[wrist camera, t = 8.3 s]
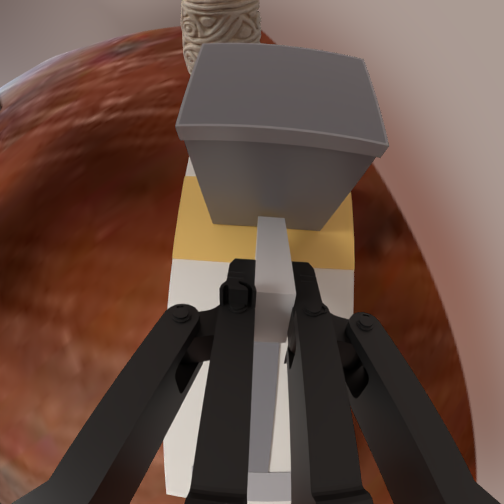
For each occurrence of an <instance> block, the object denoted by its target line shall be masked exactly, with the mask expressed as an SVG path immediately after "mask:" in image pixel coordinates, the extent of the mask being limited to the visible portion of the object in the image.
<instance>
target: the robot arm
mask: <svg viewBox="0 0 504 504" xmlns="http://www.w3.org/2000/svg"><path fill="white" fill-rule="evenodd" d="M219 298H220V305H218V306H217V307H215V308H213V309H211V310H206V311H200V312H198V310H197V309H196V308H195V307H194V306H191V305H189V304H176V305H174V306H171V307H170V308H168V309H167V310H166V311H165V313H164V314H163V315H162V317H161V318H160V319H159V321H158V322H157V323H156V325H155V326H154V327H153V329H152V330H151V331H150V333H149V334H148V335H147V337H146V338H145V339H144V341H143V342H142V344H141V345H140V346H139V348H138V349H137V350H136V352H135V353H134V355H133V356H132V357H131V359H130V360H129V361H128V363H127V364H126V366H125V367H124V368H123V370H122V371H121V373H120V374H119V375H118V377H117V378H116V380H115V381H114V383H113V384H112V385H111V387H110V388H109V390H108V391H107V393H106V394H105V395H104V397H103V398H102V400H101V401H100V403H99V404H98V406H97V407H96V408H95V410H94V411H93V413H92V414H91V416H90V417H89V419H88V420H87V422H86V423H85V425H84V426H83V428H82V429H81V431H80V432H79V434H78V435H77V437H76V438H75V440H74V441H73V443H72V444H71V446H70V447H69V449H68V451H67V452H66V454H65V455H64V457H63V458H62V460H61V462H60V463H59V465H58V466H57V468H56V469H55V471H54V473H53V474H52V476H51V477H50V479H49V480H48V481H47V482H45V483H44V484H42V485H40V486H39V487H37V488H36V489H34V490H33V491H31V492H29V493H28V494H26V495H25V496H23V497H21V498H20V499H18V500H16V501H15V502H13V503H12V504H130V502H131V500H132V498H133V496H134V494H135V492H136V491H137V489H138V487H139V485H140V483H141V481H142V479H143V477H144V476H145V474H146V472H147V470H148V468H149V466H150V464H151V462H152V460H153V459H154V457H155V455H156V453H157V451H158V449H159V447H160V445H161V443H162V442H163V440H164V438H165V436H166V434H167V432H168V430H169V428H170V426H171V424H172V422H173V421H174V419H175V417H176V415H177V413H178V411H179V409H180V407H181V405H182V403H183V401H184V399H185V398H186V396H187V394H188V392H189V390H190V388H191V386H192V384H193V382H194V380H195V378H196V376H197V374H198V372H199V370H200V369H201V367H202V365H203V362H204V361H210V363H209V369H208V375H207V381H206V387H205V393H204V399H203V405H202V412H201V418H200V424H199V431H198V437H197V444H196V451H195V458H194V465H193V472H192V479H191V486H190V490H189V493H188V495H187V497H186V500H185V504H247V487H248V466H249V444H250V422H251V400H252V376H253V352H254V341H255V342H275V343H286V341H287V336H288V347H287V351H286V355H285V360H284V364H286V363H287V376H288V398H289V423H290V455H291V504H373V500H372V497H371V495H370V493H368V492H367V491H366V490H365V489H364V488H363V486H362V481H361V473H360V465H359V458H358V451H357V444H356V438H355V432H354V425H353V420H352V414H351V409H352V411H353V413H354V415H355V417H356V419H357V422H358V424H359V426H360V428H361V430H362V432H363V435H364V437H365V439H366V441H367V443H368V446H369V448H370V450H371V452H372V455H373V457H374V459H375V461H376V463H377V466H378V468H379V470H380V473H381V475H382V477H383V479H384V482H385V484H386V486H387V489H388V491H389V493H390V496H391V498H392V500H393V503H394V504H500V503H499V502H498V501H497V500H496V499H495V498H493V497H492V496H491V495H490V494H489V493H488V492H486V491H485V490H484V489H483V488H482V487H481V486H480V485H478V484H477V483H476V482H475V481H474V479H473V477H472V475H471V473H470V471H469V469H468V467H467V465H466V463H465V461H464V459H463V457H462V455H461V453H460V451H459V449H458V447H457V446H456V444H455V442H454V440H453V438H452V436H451V435H450V433H449V431H448V429H447V427H446V426H445V424H444V422H443V420H442V419H441V417H440V415H439V413H438V412H437V410H436V408H435V407H434V405H433V403H432V402H431V400H430V398H429V397H428V395H427V393H426V392H425V390H424V389H423V387H422V385H421V384H420V382H419V381H418V379H417V377H416V376H415V374H414V373H413V371H412V370H411V368H410V366H409V365H408V363H407V362H406V360H405V359H404V357H403V356H402V354H401V353H400V351H399V350H398V348H397V347H396V345H395V344H394V342H393V341H392V339H391V338H390V336H389V335H388V334H387V332H386V331H385V329H384V328H383V326H382V325H381V323H380V322H379V321H378V320H377V319H376V318H375V317H374V316H372V315H371V314H368V313H364V312H358V313H355V314H353V315H352V316H351V317H350V318H349V319H346V318H342V317H338V316H336V315H333V314H332V313H330V311H329V309H328V307H327V306H326V305H325V304H324V303H322V299H321V295H320V291H319V287H318V283H317V279H316V275H315V271H314V268H313V267H312V266H311V265H310V264H309V263H308V262H296V261H291V255H290V248H289V242H288V236H287V229H286V223H285V218H276V217H262V216H258V225H257V239H256V253H255V260H253V259H238V258H235V259H234V260H233V261H232V262H231V263H230V264H229V269H228V275H227V280H226V281H225V282H224V283H222V284H221V286H220V288H219ZM350 406H351V408H350Z"/></svg>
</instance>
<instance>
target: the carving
mask: <svg viewBox="0 0 504 504" xmlns="http://www.w3.org/2000/svg"><path fill="white" fill-rule="evenodd" d="M258 9H259V0H182V3H181V28H182V38H183V53H184V58H185V61H186V66H187V68H188V71H189V73H190V75H191V73H192V71H193V68H194V65H195V62H196V59H197V57H198V54H199V51H200V48H201V46H202V44H203V43H258V44H260V41H259V40H260V38H261V27H260V25H261V24H260V22H261V18H260V12H259V11H257V10H258Z"/></svg>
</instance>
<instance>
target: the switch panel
mask: <svg viewBox="0 0 504 504" xmlns="http://www.w3.org/2000/svg"><path fill="white" fill-rule="evenodd" d="M287 236H288V242H289V248H290V255H291V261H296V262H308V263H309V264H310V265H311V266H312V267H313V268H314V271H315V275H316V279H317V283H318V287H319V291H320V295H321V299H322V303H324V304H325V305H326V306H327V307H328V309H329V311H330V313H332V314H333V315H336V316H338V317H342V318H346V319H349V318H350V317H351V316H352V315H353V305H354V270H355V259H354V229H353V212H352V198H351V192H350V193H349V194H348V196H347V197H346V198H345V200H344V201H343V202H342V203H341V205H340V206H339V207H338V209H337V210H336V211H335V213H334V214H333V215H332V216H331V218H330V219H329V220H328V222H327V223H326V224H325V225H324V227H323V228H322V229H321V230H320V231H312V230H299V229H287ZM256 239H257V226H241V225H224V224H213V223H212V220H211V217H210V214H209V212H208V209H207V206H206V203H205V200H204V197H203V195H202V192H201V189H200V186H199V183H198V180H197V177H196V174H195V172H194V169H193V166H192V163H191V160H190V157H189V160H188V165H187V170H186V176H185V178H184V183H183V189H182V194H181V200H180V206H179V212H178V219H177V225H176V232H175V239H174V247H173V255H172V259H173V260H172V269H171V278H170V287H169V297H168V308H170V307H171V306H174V305H176V304H189V305H191V306H194V307H195V308H196V309H197V310H198V312H200V311H206V310H211V309H213V308H215V307H217V306H218V305H220V298H219V288H220V286H221V284H222V283H224V282H225V281H226V280H227V275H228V269H229V264H230V263H231V262H232V261H233V260H234V259H235V258H238V259H253V260H255V253H256ZM287 347H288V336H287V341H286V343H275V342H255V341H254V352H253V376H252V400H251V422H250V444H249V466H248V487H247V504H291V455H290V423H289V398H288V376H287V363H286V364H284V360H285V355H286V351H287ZM209 363H210V361H204V362H203V365H202V367H201V369H200V370H199V372H198V374H197V376H196V378H195V380H194V382H193V384H192V386H191V388H190V390H189V392H188V394H187V396H186V398H185V399H184V401H183V403H182V405H181V407H180V409H179V411H178V413H177V415H176V417H175V419H174V421H173V422H172V424H171V426H170V428H169V430H168V432H167V434H166V436H165V438H164V465H165V481H166V493H167V494H169V495H174V496H179V497H185V498H186V497H187V495H188V493H189V490H190V486H191V479H192V472H193V465H194V458H195V451H196V444H197V437H198V431H199V424H200V418H201V412H202V405H203V399H204V393H205V387H206V381H207V375H208V369H209Z"/></svg>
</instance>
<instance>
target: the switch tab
mask: <svg viewBox="0 0 504 504" xmlns="http://www.w3.org/2000/svg"><path fill="white" fill-rule="evenodd" d="M175 127H176V130H177V133H178V136H179V139H180V140H184V142H185V145H186V148H187V151H188V154H189V157H190V160H191V163H192V166H193V169H194V172H195V174H196V177H197V180H198V183H199V186H200V189H201V192H202V195H203V197H204V200H205V203H206V206H207V209H208V212H209V214H210V217H211V220H212V223H213V224H224V225H241V226H257V225H258V216H262V217H276V218H285V223H286V229H299V230H312V231H320V230H321V229H322V228H323V227H324V225H325V224H326V223H327V222H328V220H329V219H330V218H331V216H332V215H333V214H334V213H335V211H336V210H337V209H338V207H339V206H340V205H341V203H342V202H343V201H344V200H345V198H346V197H347V196H348V194H349V193H350V192H351V190H352V189H353V188H354V186H355V185H356V184H357V182H358V181H359V180H360V178H361V177H362V176H363V174H364V173H365V172H366V170H367V169H368V167H369V166H370V165H371V163H372V162H373V161H374V159H375V158H376V157H379V158H380V157H381V156H382V155H383V154H384V152H385V151H386V150H387V148H388V147H389V143H388V139H387V135H386V131H385V127H384V123H383V119H382V115H381V112H380V108H379V104H378V101H377V98H376V95H375V91H374V88H373V85H372V82H371V79H370V76H369V73H368V70H367V67H366V65H365V62H364V59H361V58H357V57H352V56H348V55H343V54H338V53H333V52H327V51H322V50H316V49H309V48H302V47H293V46H285V45H274V44H258V43H203V44H202V46H201V48H200V51H199V54H198V57H197V59H196V62H195V65H194V68H193V71H192V73H191V76H190V79H189V82H188V85H187V89H186V92H185V95H184V98H183V101H182V105H181V108H180V111H179V115H178V118H177V122H176V125H175Z"/></svg>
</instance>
